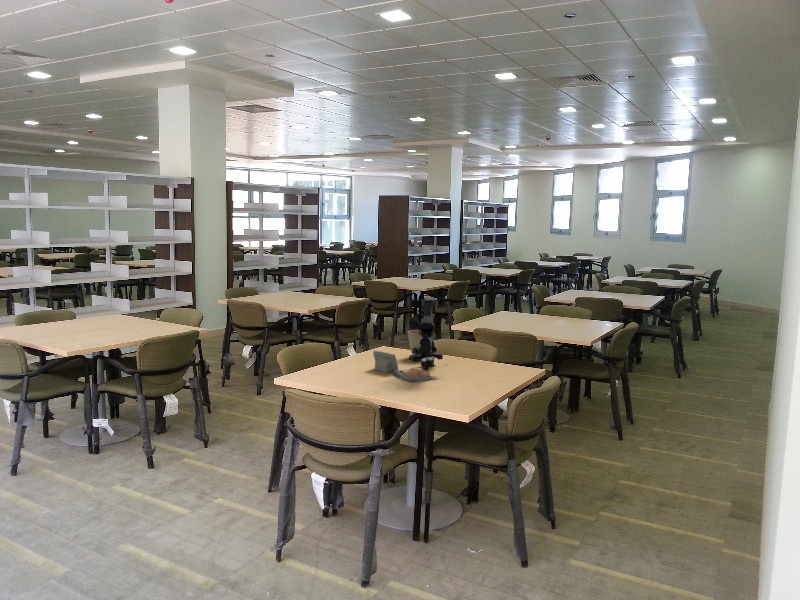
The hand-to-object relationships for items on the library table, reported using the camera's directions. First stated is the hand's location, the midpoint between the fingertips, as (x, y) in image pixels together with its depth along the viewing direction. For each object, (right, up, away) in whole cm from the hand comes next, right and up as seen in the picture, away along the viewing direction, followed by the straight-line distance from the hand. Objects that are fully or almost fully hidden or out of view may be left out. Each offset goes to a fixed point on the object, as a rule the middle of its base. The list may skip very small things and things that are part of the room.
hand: (425, 372), depth 346 cm
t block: (-6, -2, -4) cm, 7 cm away
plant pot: (-2, +4, +48) cm, 48 cm away
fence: (-7, -2, -4) cm, 8 cm away
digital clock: (-22, 0, +10) cm, 24 cm away
